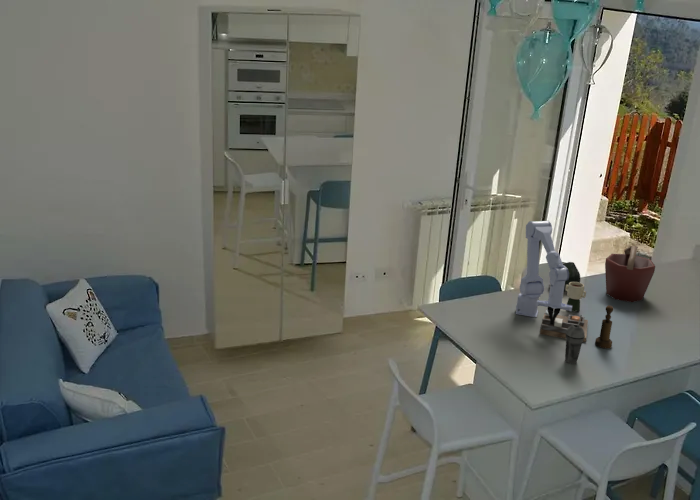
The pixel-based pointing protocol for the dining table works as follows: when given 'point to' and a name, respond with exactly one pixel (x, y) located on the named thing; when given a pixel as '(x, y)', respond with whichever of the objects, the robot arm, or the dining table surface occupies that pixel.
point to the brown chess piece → (605, 331)
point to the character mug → (575, 294)
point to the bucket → (628, 275)
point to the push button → (575, 318)
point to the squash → (572, 273)
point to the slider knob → (558, 322)
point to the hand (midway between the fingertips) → (551, 323)
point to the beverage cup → (573, 343)
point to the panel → (566, 323)
